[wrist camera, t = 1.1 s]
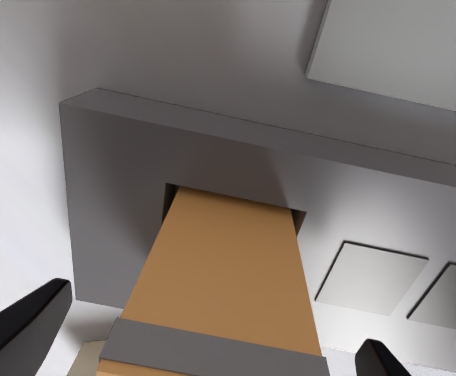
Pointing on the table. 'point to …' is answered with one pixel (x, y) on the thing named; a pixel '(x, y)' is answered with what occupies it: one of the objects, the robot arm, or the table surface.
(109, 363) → the orange square peg
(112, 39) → the table surface
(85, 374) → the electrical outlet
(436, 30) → the mat
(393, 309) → the power strip
